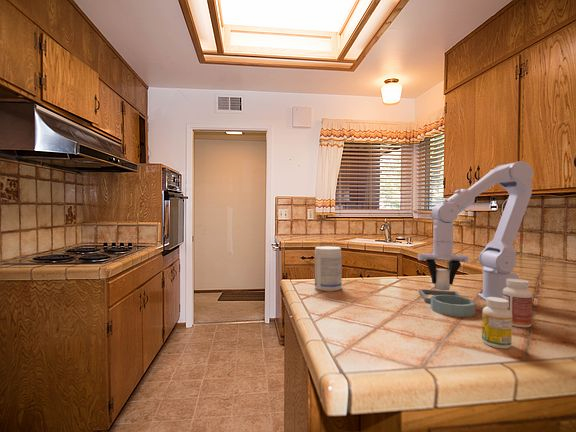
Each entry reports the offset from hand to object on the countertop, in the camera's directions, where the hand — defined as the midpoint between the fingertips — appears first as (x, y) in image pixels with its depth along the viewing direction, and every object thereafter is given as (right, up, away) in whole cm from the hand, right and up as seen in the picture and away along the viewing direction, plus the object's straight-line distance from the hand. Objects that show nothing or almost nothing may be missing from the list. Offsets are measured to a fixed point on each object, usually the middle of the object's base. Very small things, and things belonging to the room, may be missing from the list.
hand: (442, 283), depth 103 cm
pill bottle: (+8, -6, -22) cm, 24 cm away
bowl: (-3, -5, -12) cm, 13 cm away
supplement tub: (-35, -4, +11) cm, 37 cm away
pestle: (0, -2, 0) cm, 2 cm away
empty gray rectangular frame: (0, -5, 0) cm, 5 cm away
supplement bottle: (-5, -6, -35) cm, 35 cm away
